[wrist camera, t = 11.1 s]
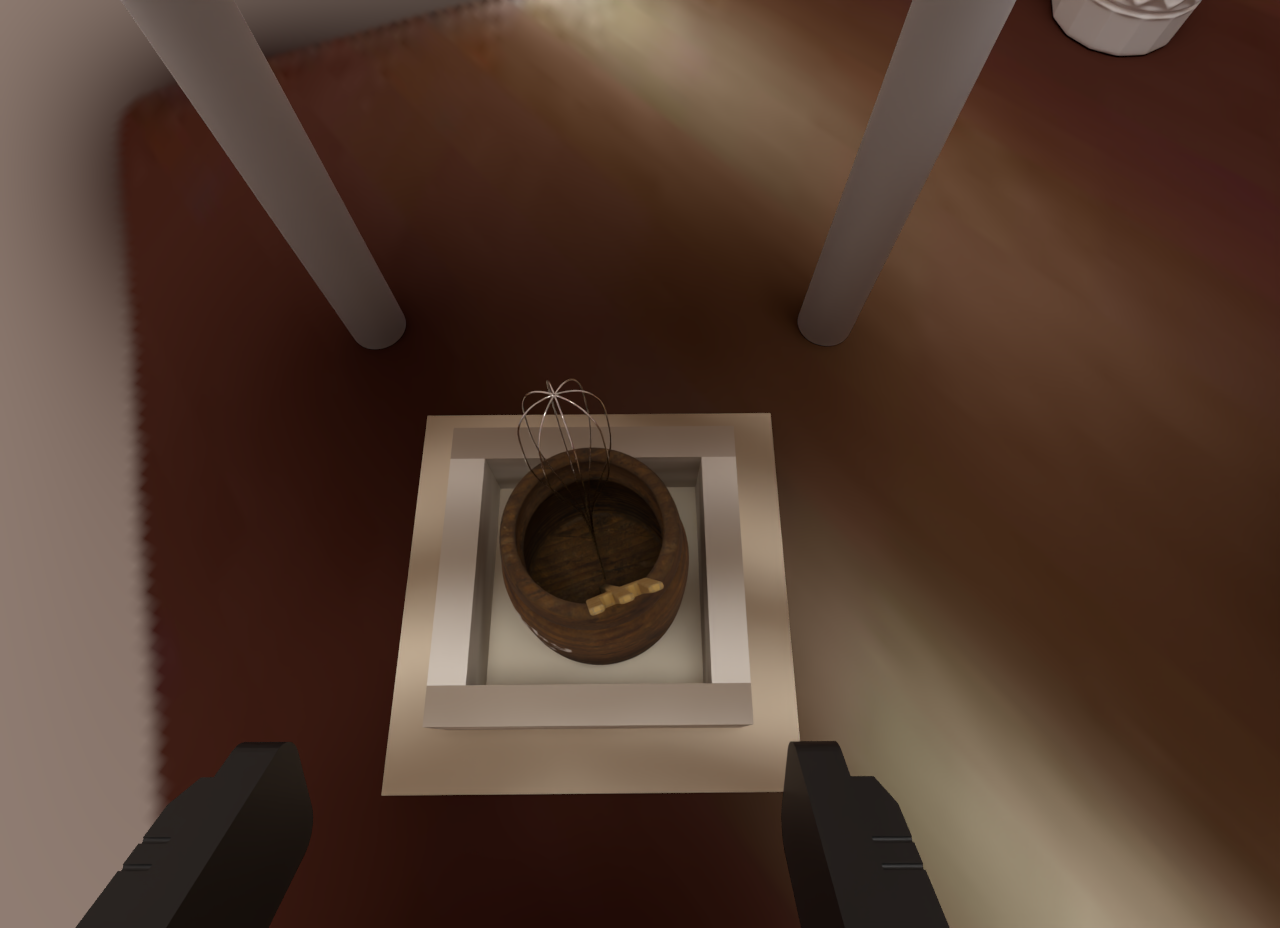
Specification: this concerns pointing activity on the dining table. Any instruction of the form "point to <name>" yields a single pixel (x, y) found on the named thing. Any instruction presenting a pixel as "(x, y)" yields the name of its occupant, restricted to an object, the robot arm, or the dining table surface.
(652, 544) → the utensil holder
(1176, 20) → the white cup
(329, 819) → the dining table surface
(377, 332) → the white bench
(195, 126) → the dining table surface
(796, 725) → the socket block
